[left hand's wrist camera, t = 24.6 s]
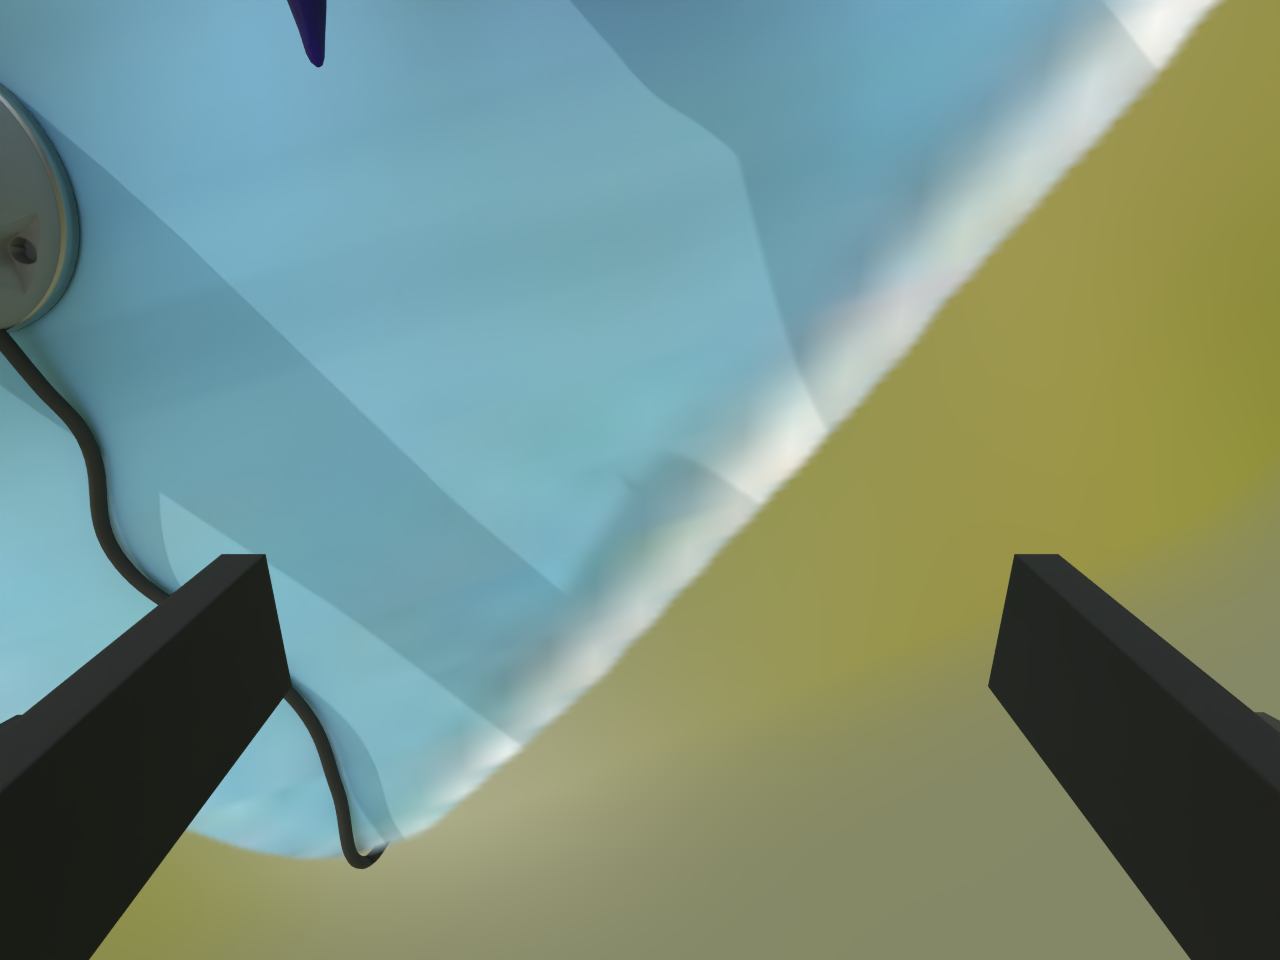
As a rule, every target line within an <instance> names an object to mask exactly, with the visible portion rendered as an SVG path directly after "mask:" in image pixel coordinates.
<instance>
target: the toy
mask: <svg viewBox="0 0 1280 960" xmlns="http://www.w3.org/2000/svg"><path fill="white" fill-rule="evenodd" d="M287 1H288V4H289V6H290V9H291V11H292V14H293V17H294V19H295V22H296V24H297V27H298V29H299V32H300V35H301V39H302V42H303V45H304V48H305V51H306V54H307V56H308V58H309V60H310V61H311V63H313V64H314V65H315V66H316V67H321V66H322V65H323V62H324V58H325V27H326V0H287Z"/></svg>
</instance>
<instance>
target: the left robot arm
mask: <svg viewBox="0 0 1280 960" xmlns="http://www.w3.org/2000/svg"><path fill="white" fill-rule="evenodd" d="M78 247H79V222H78V213H77V207H76V202H75V198H74V194H73V190H72V187H71V184H70V181H69V178H68V176H67V173H66V171H65V168H64V166H63V164H62V162H61V159H60V157H59V155H58V154H57V152H56V150H55V148H54V146H53V144H52V143H51V141H50V140H49V138H48V137H47V135H46V133H45V132H44V130H43V129H42V128H41V126H40V125H39V124H38V122H37V121H36V120H35V118H34V117H33V116H32V114H31V113H30V112H29V111H28V110H27V109H26V108H25V106H24V105H23V104H22V103H21V102H20V101H19V100H18V99H17V98H16V97H15V96H14V95H13V94H12V93H11V92H10V91H9V90H8V89H6V88H5V87H4V86H3V85H2V84H1V83H0V351H1V352H2V354H3V355H4V356H5V357H6V358H7V360H8V361H9V362H10V363H11V364H12V366H13V367H14V368H15V369H16V370H17V372H18V373H19V374H20V375H21V376H22V377H23V379H24V380H25V381H26V382H27V383H28V385H29V386H30V387H31V388H32V389H33V390H34V391H35V393H36V394H37V395H38V396H39V397H40V398H41V399H42V400H43V401H44V402H45V403H46V404H47V405H48V406H49V407H50V408H51V409H52V410H53V411H54V412H55V413H56V414H57V415H58V416H59V417H60V418H61V419H62V420H63V421H64V423H65V424H66V425H67V426H68V427H69V429H70V430H71V432H72V433H73V435H74V436H75V438H76V440H77V442H78V444H79V446H80V448H81V450H82V453H83V456H84V459H85V463H86V467H87V473H88V481H89V495H90V508H91V516H92V521H93V526H94V529H95V533H96V536H97V538H98V540H99V543H100V545H101V547H102V549H103V550H104V552H105V554H106V556H107V557H108V559H109V560H110V561H111V563H112V564H113V565H114V567H115V568H116V569H117V570H118V571H119V573H120V574H121V575H122V576H123V577H124V578H125V579H126V580H127V581H128V582H129V583H130V584H131V585H132V586H134V587H135V588H136V589H137V590H138V591H139V592H141V593H142V594H143V595H145V596H146V597H147V598H149V599H150V600H152V601H153V602H154V603H156V604H157V605H158V606H157V607H156V608H154V609H153V610H152V611H151V612H150V613H148V614H147V615H146V616H145V617H143V618H142V619H141V620H140V621H138V622H137V623H136V624H135V625H133V626H132V627H131V628H130V629H128V630H127V631H126V632H125V633H123V634H122V635H121V636H120V637H118V638H117V639H116V640H115V641H114V642H112V643H111V644H110V645H109V646H107V647H106V648H105V649H104V650H102V651H101V652H100V653H99V654H97V655H96V656H95V657H94V658H92V659H91V660H90V661H89V662H87V663H86V664H85V665H84V666H83V667H81V668H80V669H79V670H78V671H76V672H75V673H74V674H73V675H71V676H70V677H69V678H68V679H66V680H65V681H64V682H63V683H61V684H60V685H59V686H58V687H56V688H55V689H54V690H53V691H52V692H50V693H49V694H48V695H47V696H45V697H44V698H43V699H42V700H40V701H39V702H38V703H37V704H35V705H34V706H33V707H32V708H30V709H29V710H28V711H27V712H25V713H24V714H23V715H16V716H14V717H12V718H10V719H8V720H7V721H5V722H3V723H1V724H0V960H89V959H90V958H91V956H92V955H93V954H94V952H95V951H96V950H97V948H98V947H99V946H100V944H101V943H102V942H103V940H104V939H105V937H106V936H107V935H108V933H109V932H110V931H111V929H112V928H113V927H114V925H115V924H116V923H117V921H118V920H119V919H120V917H121V916H122V915H123V913H124V912H125V911H126V909H127V908H128V907H129V905H130V904H131V902H132V901H133V900H134V898H135V897H136V896H137V894H138V893H139V892H140V890H141V889H142V888H143V886H144V885H145V884H146V882H147V881H148V880H149V878H150V877H151V876H152V874H153V873H154V871H155V870H156V869H157V867H158V866H159V865H160V863H161V862H162V861H163V859H164V858H165V857H166V855H167V854H168V853H169V851H170V850H171V848H172V847H173V846H174V844H175V843H176V842H177V840H178V839H179V838H180V836H181V835H182V834H183V832H184V831H185V830H186V828H187V827H188V826H189V824H190V823H191V822H192V820H193V819H194V818H195V816H196V815H197V814H198V812H199V811H200V809H201V808H202V807H203V805H204V804H205V803H206V801H207V800H208V799H209V797H210V796H211V795H212V793H213V792H214V791H215V789H216V788H217V787H218V785H219V784H220V783H221V781H222V780H223V778H224V777H225V776H226V774H227V773H228V772H229V770H230V769H231V768H232V766H233V765H234V764H235V762H236V761H237V760H238V758H239V757H240V756H241V754H242V753H243V752H244V750H245V749H246V747H247V746H248V745H249V743H250V742H251V741H252V739H253V738H254V737H255V735H256V734H257V733H258V731H259V730H260V729H261V727H262V726H263V725H264V723H265V722H266V721H267V719H268V718H269V716H270V715H271V714H272V712H273V711H274V710H275V708H276V707H277V706H278V704H279V703H280V702H281V700H282V699H283V698H284V699H285V700H286V701H287V702H288V703H289V704H290V705H291V706H292V708H293V709H294V710H295V711H296V713H297V714H298V715H299V717H300V718H301V719H302V721H303V722H304V724H305V726H306V727H307V729H308V731H309V733H310V735H311V737H312V739H313V741H314V743H315V746H316V748H317V751H318V754H319V757H320V760H321V763H322V766H323V770H324V773H325V776H326V779H327V782H328V785H329V788H330V791H331V794H332V797H333V800H334V804H335V809H336V814H337V820H338V828H339V835H340V841H341V846H342V850H343V853H344V856H345V857H346V859H347V861H348V863H349V864H350V865H351V866H353V867H355V868H358V869H365V868H367V867H369V866H371V865H372V864H374V863H375V862H376V861H377V860H378V859H379V858H380V856H381V855H382V854H383V852H384V851H385V849H386V847H387V846H388V844H387V845H384V846H381V847H378V848H374V849H372V850H371V851H370V852H369V853H368V854H367V855H366V856H361V855H360V854H359V853H358V852H357V850H356V847H355V843H354V839H353V833H352V826H351V818H350V812H349V806H348V801H347V797H346V793H345V790H344V787H343V784H342V781H341V778H340V775H339V772H338V769H337V765H336V762H335V759H334V755H333V752H332V749H331V746H330V743H329V741H328V738H327V736H326V733H325V731H324V729H323V727H322V725H321V724H320V722H319V720H318V718H317V717H316V715H315V714H314V712H313V711H312V709H311V708H310V707H309V705H308V704H307V703H306V702H305V700H304V699H303V698H302V697H301V696H300V694H299V693H298V692H297V691H296V690H295V689H294V688H293V687H292V684H291V679H290V674H289V669H288V664H287V659H286V654H285V649H284V644H283V639H282V634H281V629H280V624H279V619H278V614H277V609H276V604H275V599H274V594H273V589H272V584H271V579H270V574H269V569H268V564H267V559H266V554H221V555H220V556H219V557H218V558H216V559H215V560H214V561H213V562H212V563H210V564H209V565H208V566H207V567H205V568H204V569H203V570H202V571H200V572H199V573H198V574H197V575H195V576H194V577H193V578H192V579H190V580H189V581H188V582H187V583H185V584H184V585H183V586H182V587H181V588H179V589H178V590H177V591H176V592H174V593H173V594H172V595H171V596H170V595H168V594H167V593H165V592H164V591H163V590H161V589H160V588H158V587H157V586H156V585H154V584H153V583H152V582H151V581H149V580H148V579H147V578H146V577H145V576H144V575H142V574H141V573H140V572H139V571H138V570H137V569H136V568H135V566H134V565H133V564H132V563H131V562H130V561H129V559H128V558H127V557H126V555H125V554H124V553H123V551H122V550H121V548H120V546H119V545H118V543H117V541H116V539H115V536H114V534H113V532H112V528H111V525H110V520H109V515H108V505H107V488H106V476H105V469H104V464H103V460H102V456H101V453H100V450H99V447H98V445H97V443H96V441H95V438H94V436H93V434H92V433H91V431H90V429H89V427H88V426H87V424H86V423H85V422H84V420H83V419H82V418H81V416H80V415H79V414H78V413H77V412H76V411H75V409H74V408H73V407H72V406H71V405H70V404H69V403H68V402H67V401H66V400H65V399H64V398H63V397H62V396H61V395H60V394H59V393H58V392H57V391H56V390H55V389H54V388H53V387H52V386H51V384H50V383H49V382H48V381H47V380H46V379H45V377H44V376H43V375H42V374H41V373H40V371H39V370H38V369H37V368H36V367H35V365H34V364H33V363H32V362H31V360H30V359H29V358H28V357H27V356H26V354H25V353H24V352H23V351H22V349H21V348H20V347H19V346H18V345H17V343H16V342H15V341H14V340H13V338H12V337H11V336H10V335H9V334H8V333H9V332H12V331H15V330H18V329H21V328H23V327H25V326H27V325H30V324H32V323H33V322H35V321H36V320H38V319H39V318H41V317H42V316H44V315H45V314H46V313H47V312H48V311H49V310H50V309H51V308H52V307H53V306H54V305H55V304H56V303H57V302H58V300H59V299H60V298H61V296H62V295H63V293H64V292H65V290H66V288H67V286H68V284H69V282H70V280H71V277H72V274H73V272H74V269H75V264H76V260H77V255H78ZM988 687H989V688H990V689H991V691H992V692H993V694H994V695H995V696H996V698H997V699H998V700H999V702H1000V703H1001V704H1002V706H1003V707H1004V708H1005V710H1006V711H1007V712H1008V714H1009V715H1010V716H1011V718H1012V719H1013V721H1014V722H1015V723H1016V724H1017V726H1018V727H1019V729H1020V730H1021V731H1022V733H1023V734H1024V735H1025V737H1026V738H1027V739H1028V741H1029V742H1030V743H1031V745H1032V746H1033V747H1034V749H1035V750H1036V751H1037V753H1038V754H1039V756H1040V757H1041V758H1042V760H1043V761H1044V762H1045V764H1046V765H1047V766H1048V768H1049V769H1050V770H1051V772H1052V773H1053V774H1054V776H1055V777H1056V778H1057V780H1058V781H1059V783H1060V784H1061V785H1062V787H1063V788H1064V789H1065V791H1066V792H1067V793H1068V795H1069V796H1070V797H1071V799H1072V800H1073V801H1074V803H1075V804H1076V805H1077V807H1078V808H1079V809H1080V811H1081V812H1082V813H1083V815H1084V816H1085V818H1086V819H1087V820H1088V822H1089V823H1090V824H1091V826H1092V827H1093V828H1094V830H1095V831H1096V832H1097V834H1098V835H1099V836H1100V838H1101V839H1102V840H1103V842H1104V843H1105V844H1106V846H1107V847H1108V848H1109V850H1110V851H1111V853H1112V854H1113V855H1114V857H1115V858H1116V859H1117V861H1118V862H1119V863H1120V865H1121V866H1122V867H1123V869H1124V870H1125V871H1126V873H1127V874H1128V876H1129V877H1130V878H1131V879H1132V881H1133V882H1134V884H1135V885H1136V886H1137V888H1138V889H1139V890H1140V892H1141V893H1142V894H1143V896H1144V897H1145V898H1146V900H1147V901H1148V902H1149V904H1150V905H1151V906H1152V908H1153V909H1154V911H1155V912H1156V913H1157V915H1158V916H1159V917H1160V919H1161V920H1162V921H1163V923H1164V924H1165V925H1166V927H1167V928H1168V929H1169V931H1170V932H1171V933H1172V935H1173V936H1174V938H1175V939H1176V940H1177V942H1178V943H1179V944H1180V946H1181V947H1182V948H1183V950H1184V951H1185V952H1186V954H1187V955H1188V956H1189V958H1190V959H1191V960H1280V721H1279V720H1277V719H1275V718H1273V717H1272V716H1270V715H1268V714H1266V713H1264V712H1253V711H1252V710H1251V709H1250V708H1248V707H1247V706H1246V705H1245V704H1243V703H1242V702H1241V701H1240V700H1238V699H1237V698H1236V697H1235V696H1233V695H1232V694H1231V693H1230V692H1228V691H1227V690H1226V689H1225V688H1224V687H1222V686H1221V685H1220V684H1219V683H1217V682H1216V681H1215V680H1214V679H1212V678H1211V677H1210V676H1209V675H1207V674H1206V673H1205V672H1204V671H1202V670H1201V669H1200V668H1199V667H1197V666H1196V665H1195V664H1194V663H1192V662H1191V661H1190V660H1189V659H1188V658H1186V657H1185V656H1184V655H1183V654H1181V653H1180V652H1179V651H1178V650H1176V649H1175V648H1174V647H1173V646H1171V645H1170V644H1169V643H1168V642H1166V641H1165V640H1164V639H1163V638H1161V637H1160V636H1159V635H1158V634H1157V633H1155V632H1154V631H1153V630H1152V629H1150V628H1149V627H1148V626H1147V625H1145V624H1144V623H1143V622H1142V621H1140V620H1139V619H1138V618H1137V617H1135V616H1134V615H1133V614H1132V613H1130V612H1129V611H1128V610H1127V609H1126V608H1124V607H1123V606H1122V605H1121V604H1119V603H1118V602H1117V601H1116V600H1114V599H1113V598H1112V597H1111V596H1109V595H1108V594H1107V593H1106V592H1104V591H1103V590H1102V589H1101V588H1099V587H1098V586H1097V585H1096V584H1094V583H1093V582H1092V581H1091V580H1090V579H1088V578H1087V577H1086V576H1085V575H1083V574H1082V573H1081V572H1080V571H1078V570H1077V569H1076V568H1075V567H1073V566H1072V565H1071V564H1070V563H1068V562H1067V561H1066V560H1065V559H1063V558H1062V557H1061V556H1060V555H1059V554H1015V555H1014V560H1013V565H1012V570H1011V574H1010V579H1009V585H1008V589H1007V595H1006V599H1005V604H1004V609H1003V614H1002V620H1001V624H1000V629H999V634H998V639H997V644H996V649H995V654H994V659H993V664H992V669H991V675H990V679H989V684H988Z"/></svg>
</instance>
